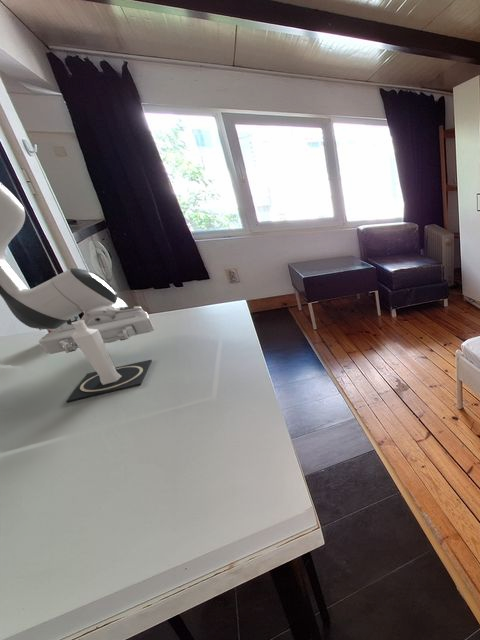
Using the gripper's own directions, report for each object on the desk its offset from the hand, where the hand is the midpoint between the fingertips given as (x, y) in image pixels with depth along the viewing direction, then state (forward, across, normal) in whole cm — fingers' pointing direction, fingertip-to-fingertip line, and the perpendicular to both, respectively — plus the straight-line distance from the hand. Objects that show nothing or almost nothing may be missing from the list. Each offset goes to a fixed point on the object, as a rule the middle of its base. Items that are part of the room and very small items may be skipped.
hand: (96, 342), depth 84 cm
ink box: (-46, -15, +10) cm, 49 cm away
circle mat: (+1, 0, +10) cm, 10 cm away
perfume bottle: (+2, -1, +9) cm, 9 cm away
